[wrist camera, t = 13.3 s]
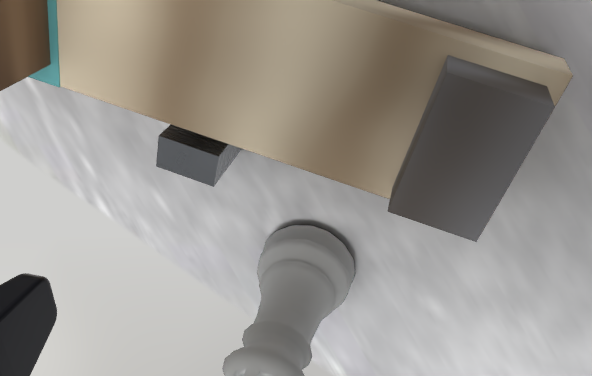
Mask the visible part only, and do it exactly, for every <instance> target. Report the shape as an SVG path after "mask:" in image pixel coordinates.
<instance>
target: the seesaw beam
mask: <svg viewBox="0 0 592 376" xmlns="http://www.w3.org/2000/svg"><path fill="white" fill-rule="evenodd" d="M47 4H48V23H49V42H50V61H51V64H50V65H49V66H47V67H45V68H43V69H41V70H39V71H37V72H35V73H33V74H32V75H30V76H28V77H31V78H34V79H36V80H39V81H42V82H45V83H48V84H51V85H54V86H57V87H60V86H61V87H63V88H66V89H69V90H72V91H75V92H78V93H81V94H84V95H87V96H90V97H93V98H96V99H99V100H101V101H104V102H107V103H110V104H113V105H116V106H119V107H122V108H125V109H128V110H131V111H134V112H137V113H139V114H142V115H145V116H148V117H151V118H154V119H157V120H160V121H163V122H166V123H169V124H172V125H175V126H177V127H180V128H183V129H186V130H189V131H192V132H195V133H198V134H201V135H204V136H207V137H210V138H213V139H215V140H218V141H221V142H224V143H227V144H230V145H233V146H236V147H239V148H242V149H245V150H248V151H251V152H253V153H256V154H259V155H262V156H265V157H268V158H271V159H274V160H277V161H280V162H283V163H286V164H289V165H291V166H294V167H297V168H300V169H303V170H306V171H309V172H312V173H315V174H318V175H321V176H324V177H327V178H329V179H332V180H335V181H338V182H341V183H344V184H347V185H350V186H353V187H356V188H359V189H362V190H365V191H367V192H370V193H373V194H376V195H379V196H382V197H385V198H388V199H390V202H389V207H388V212H391V213H394V214H397V215H400V216H402V217H405V218H408V219H411V220H414V221H417V222H420V223H423V224H426V225H429V226H431V227H434V228H437V229H440V230H443V231H446V232H449V233H452V234H455V235H458V236H461V237H463V238H466V239H469V240H472V241H475V242H477V240H478V238H479V236H480V235H481V233H482V231H483V230H484V228H485V226H486V225H487V223H488V221H489V219H490V218H491V216H492V214H493V213H494V211H495V209H496V207H497V206H498V204H499V202H500V201H501V199H502V197H503V195H504V194H505V192H506V190H507V189H508V187H509V185H510V183H511V182H512V180H513V178H514V176H515V175H516V173H517V171H518V170H519V168H520V166H521V164H522V163H523V161H524V159H525V158H526V156H527V154H528V152H529V151H530V149H531V147H532V146H533V144H534V142H535V140H536V139H537V137H538V135H539V134H540V132H541V130H542V128H543V127H544V125H545V123H546V122H547V120H548V118H549V116H550V115H551V113H552V111H553V109H554V108H555V106H556V104H557V103H558V101H559V99H560V97H561V96H562V94H563V92H564V91H565V89H566V87H567V85H568V84H569V82H570V80H571V79H572V77H573V75H572V73H571V71H570V69H569V67H568V65H567V63H566V61H565V59H563V58H560V57H557V56H554V55H550V54H547V53H544V52H541V51H538V50H534V49H531V48H528V47H525V46H522V45H518V44H515V43H512V42H509V41H505V40H502V39H499V38H496V37H493V36H489V35H486V34H483V33H480V32H477V31H473V30H470V29H467V28H464V27H460V26H457V25H454V24H451V23H448V22H444V21H441V20H438V19H435V18H432V17H428V16H425V15H422V14H419V13H416V12H412V11H409V10H406V9H403V8H399V7H396V6H393V5H390V4H387V3H383V2H380V1H377V0H47Z"/></svg>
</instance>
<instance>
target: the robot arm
mask: <svg viewBox="0 0 592 376" xmlns="http://www.w3.org/2000/svg"><path fill="white" fill-rule="evenodd" d="M56 316H57V308H56V304H55V300H54V297H53V293H52V289H51V286H50V283H49V281H48V279H47V278H45V277H43V276H37V275H32V274H20V275H18V276H16V277H14V278H12V279H10V280H9V281H7V282H5V283H3V284H1V285H0V376H30V374H31V372H32V370H33V368H34V366H35V364H36V362H37V360H38V358H39V355H40V353H41V351H42V349H43V347H44V345H45V343H46V341H47V339H48V336H49V334H50V332H51V330H52V328H53V326H54V323H55V321H56Z"/></svg>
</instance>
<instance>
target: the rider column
mask: <svg viewBox="0 0 592 376" xmlns="http://www.w3.org/2000/svg"><path fill="white" fill-rule="evenodd" d="M50 64H51V61H50V42H49V23H48V4H47V0H0V91H1V90H3V89H5V88H7V87H9V86H11V85H13V84H15V83H16V82H18V81H20V80H22V79H24V78H26V77H28V76H30V75H32V74H33V73H35V72H37V71H39V70H41V69H43V68H45V67H47V66H49V65H50Z"/></svg>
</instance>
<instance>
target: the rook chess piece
mask: <svg viewBox="0 0 592 376" xmlns="http://www.w3.org/2000/svg"><path fill="white" fill-rule="evenodd" d="M257 274H258V278H259V282H260V284H259V287H260V291H261V302H260V306H259V310H258V314H257V317H256V319H255V321H254V323H253V324H252V325H250V326H249V327H248V328H247V329H246V330H245V331H244V335H243V338H242V341H243V344H244V347H243V348H240V349H238V350H236V351H233V352H232V353H231V354H230V355H229V356H228V357H226V358H225V361H224V365H223V372H224V375H225V376H304V374H303V372H302V369H303V368H305V367H306V366H308V365H309V363H310V361H311V358H312V353H311V348H310V344H311V340H312V338H313V336H314V334H315V332H316V330H317V328H318V326H319V324H320V322H321V321H322V319H324V318H325V317H326V316H328V315H329V314H330V313H331V312H332V311H333V310H335V309H336V308H337V307H338V306H340V305H341V304H342V303H343V301H344V300H345V298H346V296H347V294H348V291H349V289H350V285H351V283H352V281H353V278H354V276H355V268H354V260H353V258H352V256H351V254H350V253H349V251H348V250H347V248H346V247H345V245H344V244H343V243H342V242H341V241H340V240H339V239H337V238H336V237H335V236H334V235H332V234H331V233H330V232H328V231H326V230H323V229H320V228H318V227H315V226H307V225H293V226H289V227H286V228H283V229H281V230H278V231H275V232H274V233H273V235H272V236H271V237H270V238H269V239H268V240H267V241H266V242H265V246H264V250H263V253H262V254H261V256H260V260H259V264H258V270H257Z"/></svg>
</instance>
